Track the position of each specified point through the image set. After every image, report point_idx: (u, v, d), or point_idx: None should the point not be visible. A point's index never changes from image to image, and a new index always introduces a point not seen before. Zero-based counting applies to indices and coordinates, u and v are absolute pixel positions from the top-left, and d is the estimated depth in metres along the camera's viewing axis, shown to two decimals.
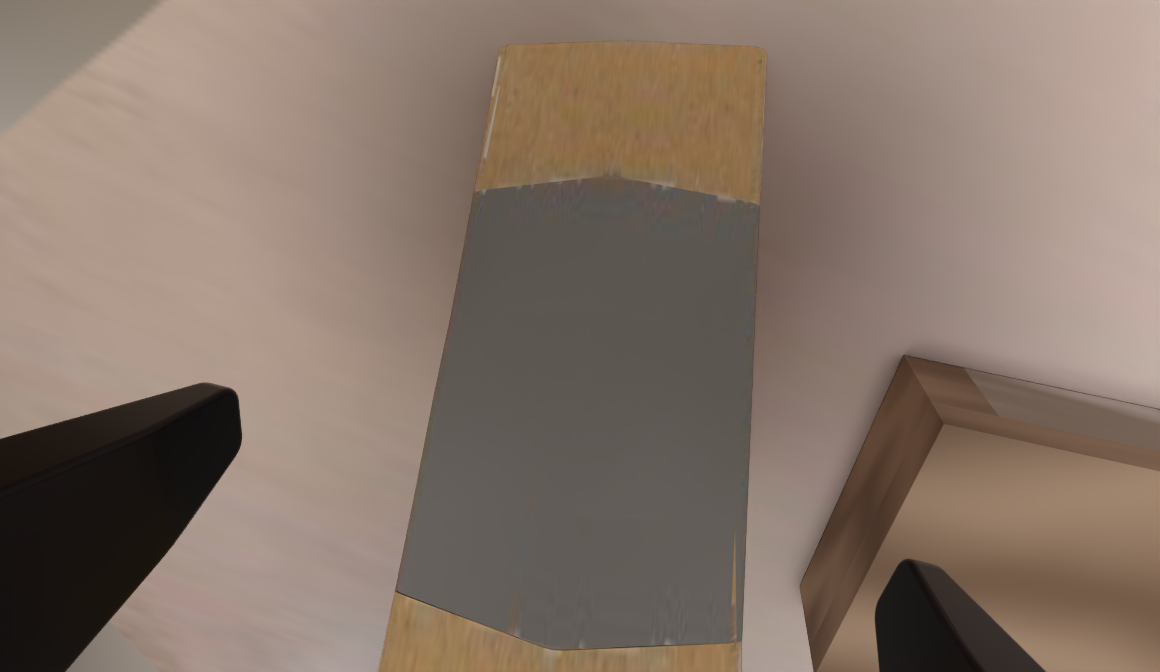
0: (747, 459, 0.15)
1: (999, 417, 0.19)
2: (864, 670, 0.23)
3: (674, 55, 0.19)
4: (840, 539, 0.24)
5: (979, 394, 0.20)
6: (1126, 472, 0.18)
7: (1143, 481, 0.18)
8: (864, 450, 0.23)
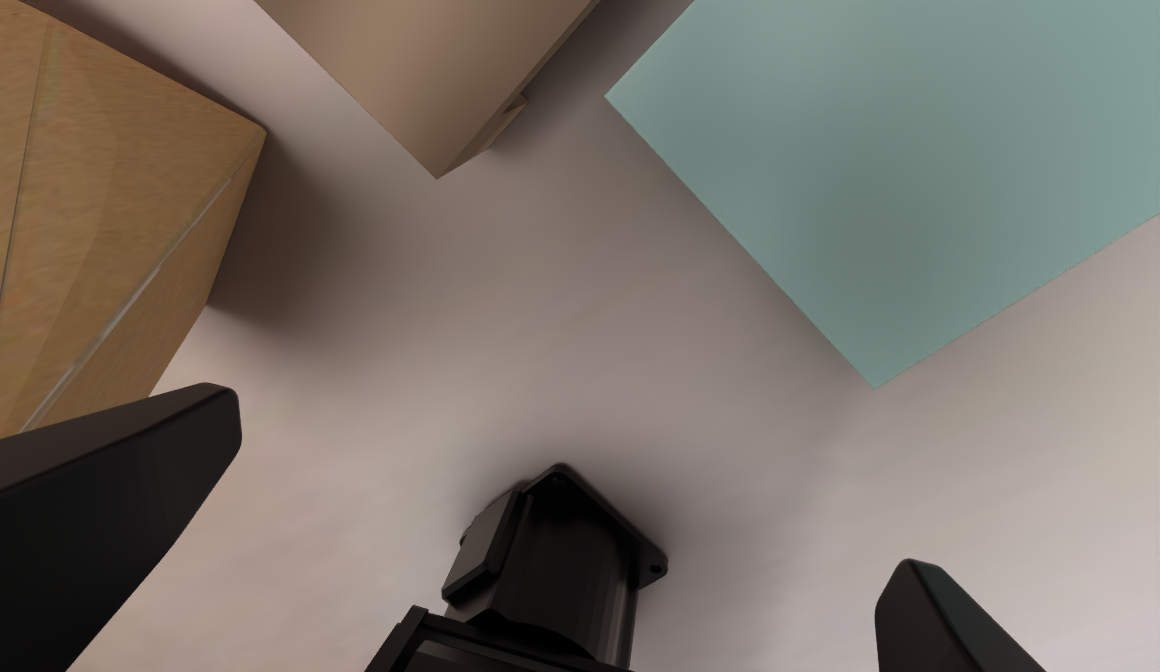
0: None
1: None
2: (444, 108, 0.15)
3: None
4: None
5: None
6: None
7: None
8: None
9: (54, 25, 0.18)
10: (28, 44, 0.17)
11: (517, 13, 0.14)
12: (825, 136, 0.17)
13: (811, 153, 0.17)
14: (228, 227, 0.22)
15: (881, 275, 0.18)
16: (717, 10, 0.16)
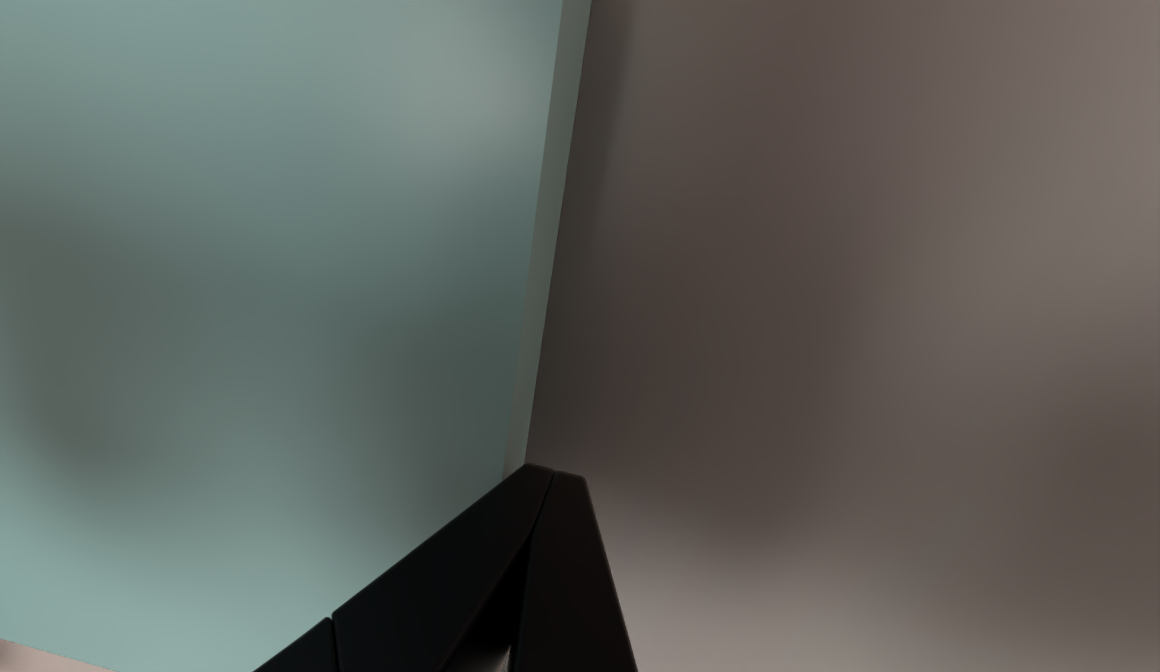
0: None
1: None
2: None
3: None
4: None
5: None
6: None
7: None
8: None
9: None
10: None
11: None
12: (36, 518, 0.10)
13: (50, 543, 0.10)
14: None
15: (293, 636, 0.10)
16: None
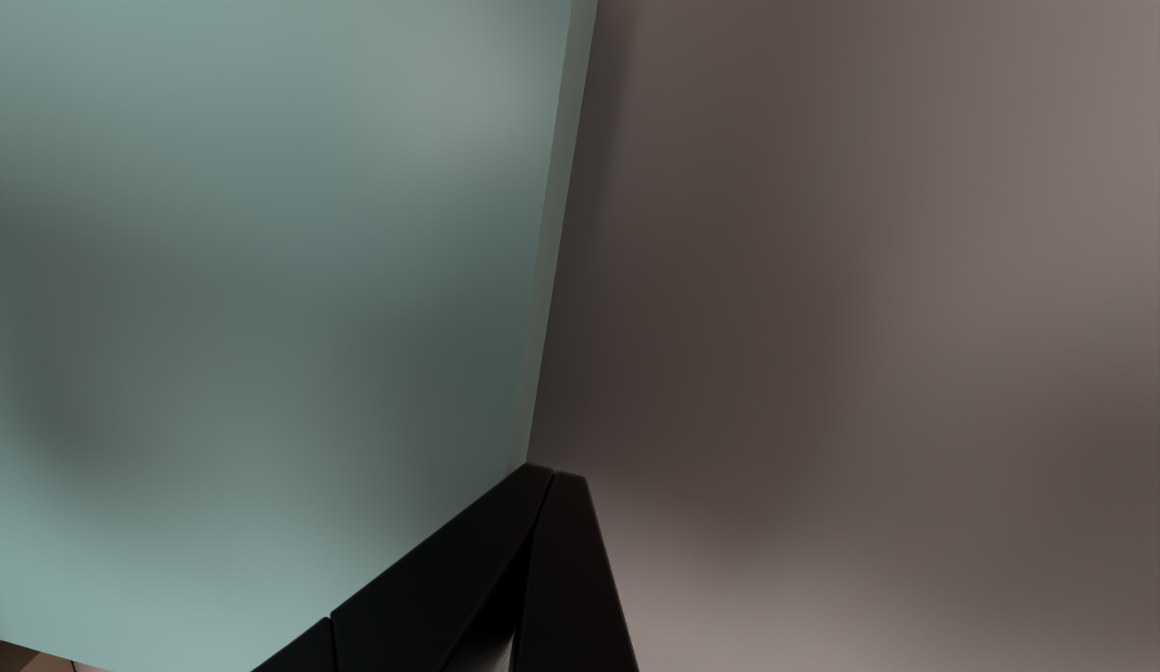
0: None
1: None
2: None
3: None
4: None
5: None
6: None
7: None
8: None
9: None
10: None
11: None
12: (40, 521, 0.10)
13: (54, 546, 0.10)
14: None
15: None
16: None
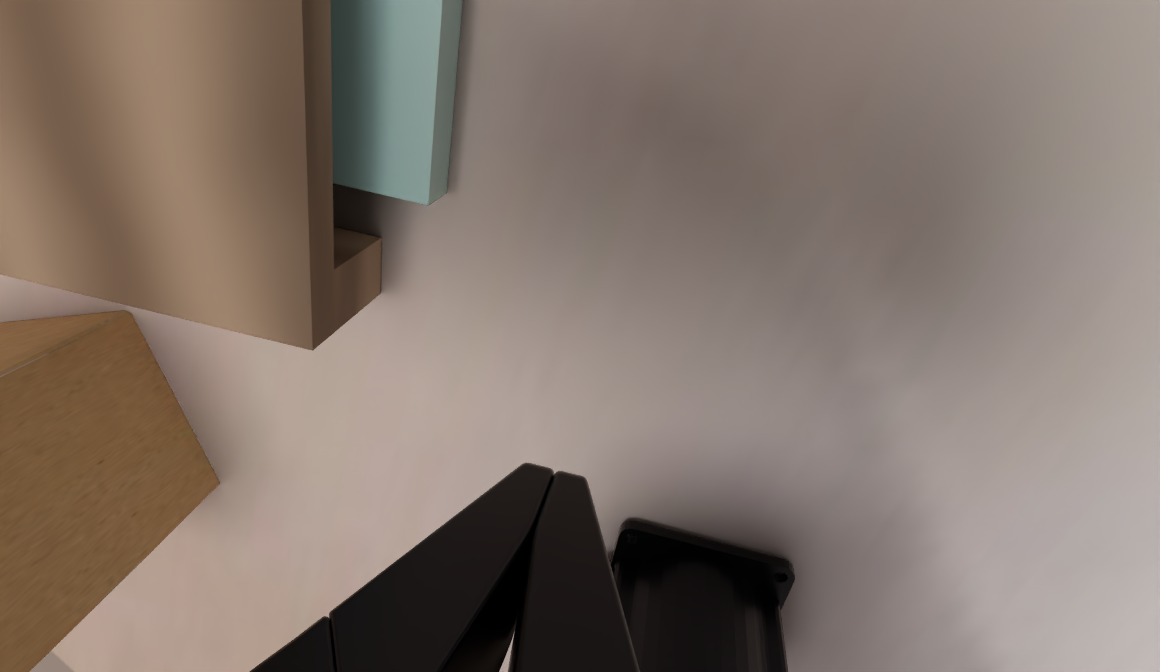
0: None
1: None
2: (278, 294, 0.17)
3: None
4: None
5: None
6: None
7: None
8: None
9: (2, 324, 0.25)
10: None
11: (269, 192, 0.16)
12: None
13: None
14: (153, 401, 0.24)
15: None
16: None
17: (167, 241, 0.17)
